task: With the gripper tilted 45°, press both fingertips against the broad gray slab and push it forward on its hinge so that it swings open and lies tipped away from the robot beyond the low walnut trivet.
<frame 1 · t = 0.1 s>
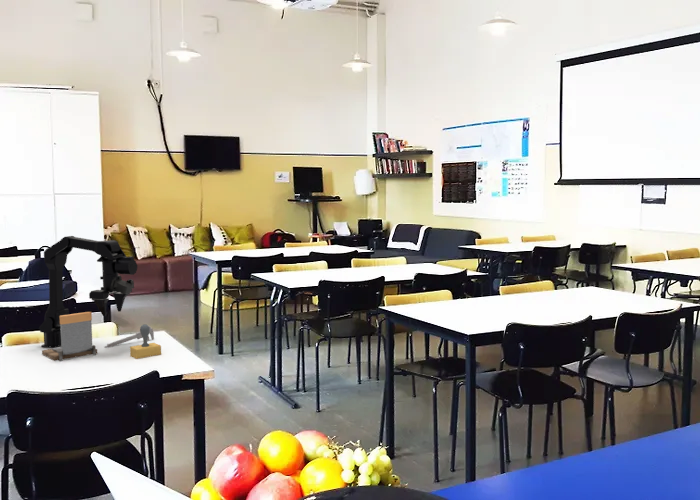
hand: (112, 313, 264), 15 cm above the table, tool pointing down, fingers open, 9 cm apart
gray slab: (76, 333, 255), point 9 cm above the table, hinge at 0.0°
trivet: (77, 357, 256), on the table
caliper: (129, 344, 278), on the table
rubber stamp: (145, 356, 260), on the table
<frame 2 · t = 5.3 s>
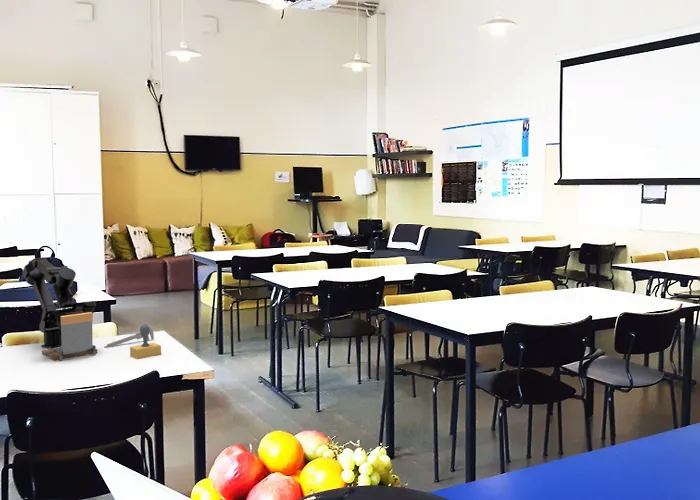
hand: (76, 328, 255), 11 cm above the table, tool tilted 45°
gray slab: (77, 333, 255), point 9 cm above the table, hinge at 4.4°, touching gripper
everything else where it was.
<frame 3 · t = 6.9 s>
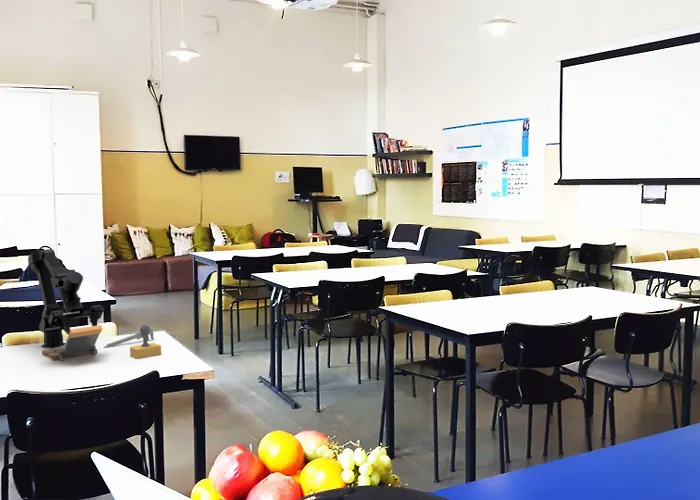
hand: (83, 334, 250), 10 cm above the table, tool tilted 45°
gray slab: (81, 340, 252), point 7 cm above the table, hinge at 44.7°, touching gripper
everything else where it was.
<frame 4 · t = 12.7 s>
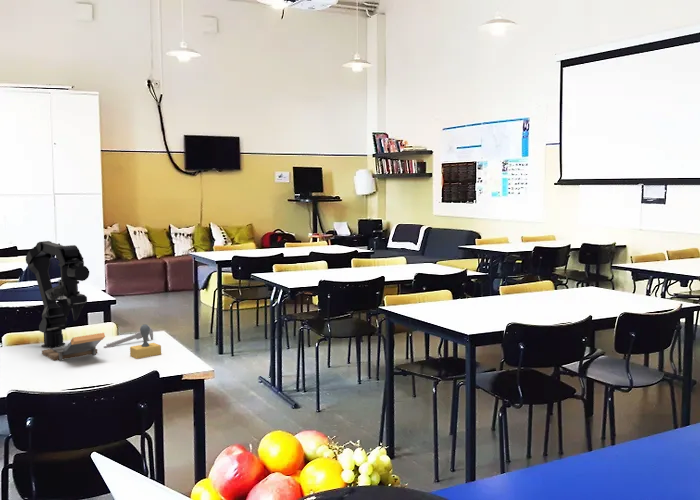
hand: (70, 318, 263), 13 cm above the table, tool pointing down, fingers open, 9 cm apart
gray slab: (82, 344, 251), point 6 cm above the table, hinge at 58.4°
everything else where it was.
at the end: gray slab at +58° (first picture: +0°) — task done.
